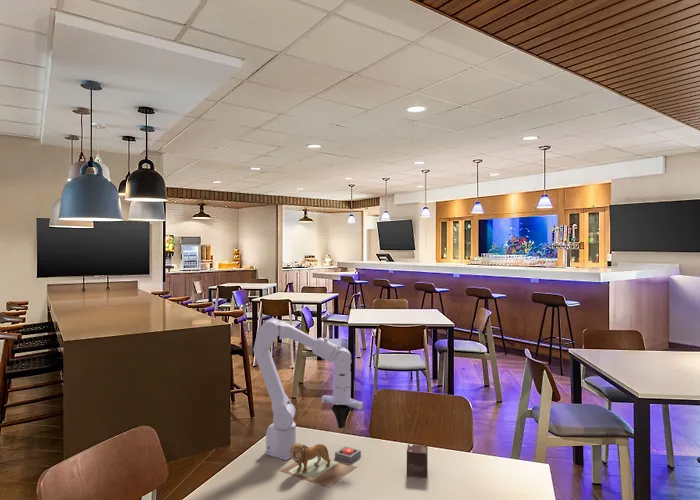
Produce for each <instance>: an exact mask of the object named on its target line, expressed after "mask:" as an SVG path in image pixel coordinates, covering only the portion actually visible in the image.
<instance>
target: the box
mask: <svg viewBox="0 0 700 500" xmlns="http://www.w3.org/2000/svg"><path fill="white" fill-rule="evenodd" d="M428 459H429V458H428V445H426V444H425V445H424V444H414V443H413V444H410V443H408V444H407V449H406V476H407V477H413V478H424V479H425V478H427V477H428V470H429V469H428V467H429V466H428V461H429V460H428Z"/></svg>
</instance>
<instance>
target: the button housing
mask: <svg viewBox="0 0 700 500" xmlns="http://www.w3.org/2000/svg"><path fill="white" fill-rule="evenodd" d="M345 448H351V449H353V450H354V453H353V454H352V455H346V454H343V453H342V450H343V449H345ZM361 457H362V451H361V450H360V449H357V448H354V447H349V446H344V447H341V448H340V449H338V450H336V451H335V452H334V459H335V460H336V461H339V462H343V463H346V464H353V463H354V462H355V461H357V460H358V459H360V458H361Z"/></svg>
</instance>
